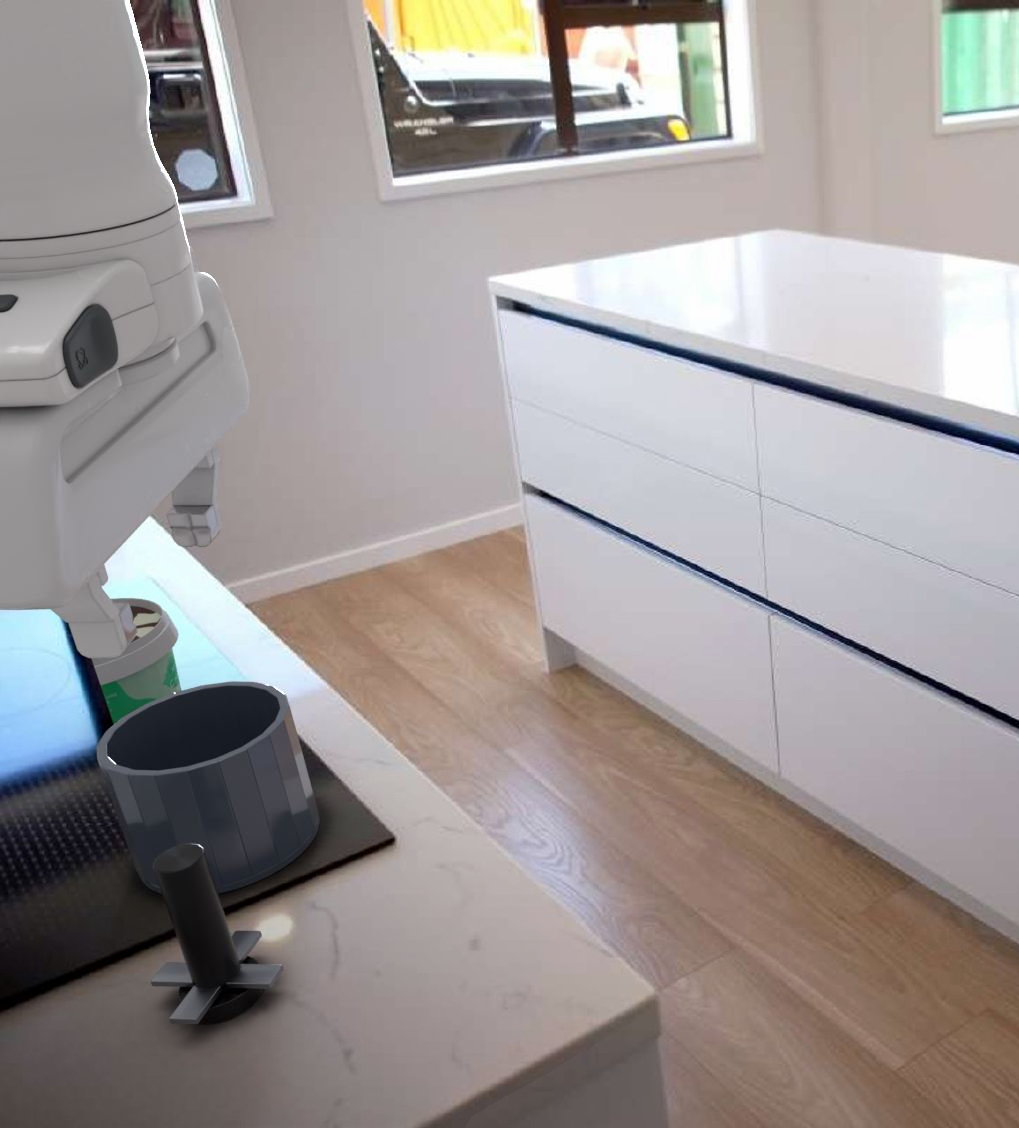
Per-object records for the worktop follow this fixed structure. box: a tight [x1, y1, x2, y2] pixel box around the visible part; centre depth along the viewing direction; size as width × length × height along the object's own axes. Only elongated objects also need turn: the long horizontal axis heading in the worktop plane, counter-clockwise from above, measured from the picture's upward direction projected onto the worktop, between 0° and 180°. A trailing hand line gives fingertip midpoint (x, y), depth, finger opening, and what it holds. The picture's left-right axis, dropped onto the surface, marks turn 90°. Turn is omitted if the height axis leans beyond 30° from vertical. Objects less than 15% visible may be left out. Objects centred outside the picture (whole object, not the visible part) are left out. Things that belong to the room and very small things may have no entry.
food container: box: [90, 597, 182, 725], centre depth 101 cm, size 12×6×10 cm, turn 34°
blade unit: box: [150, 844, 285, 1025], centre depth 73 cm, size 7×7×10 cm
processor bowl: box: [96, 680, 321, 895], centre depth 87 cm, size 12×12×10 cm
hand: (158, 590), depth 57 cm, fingers open, 8 cm apart
